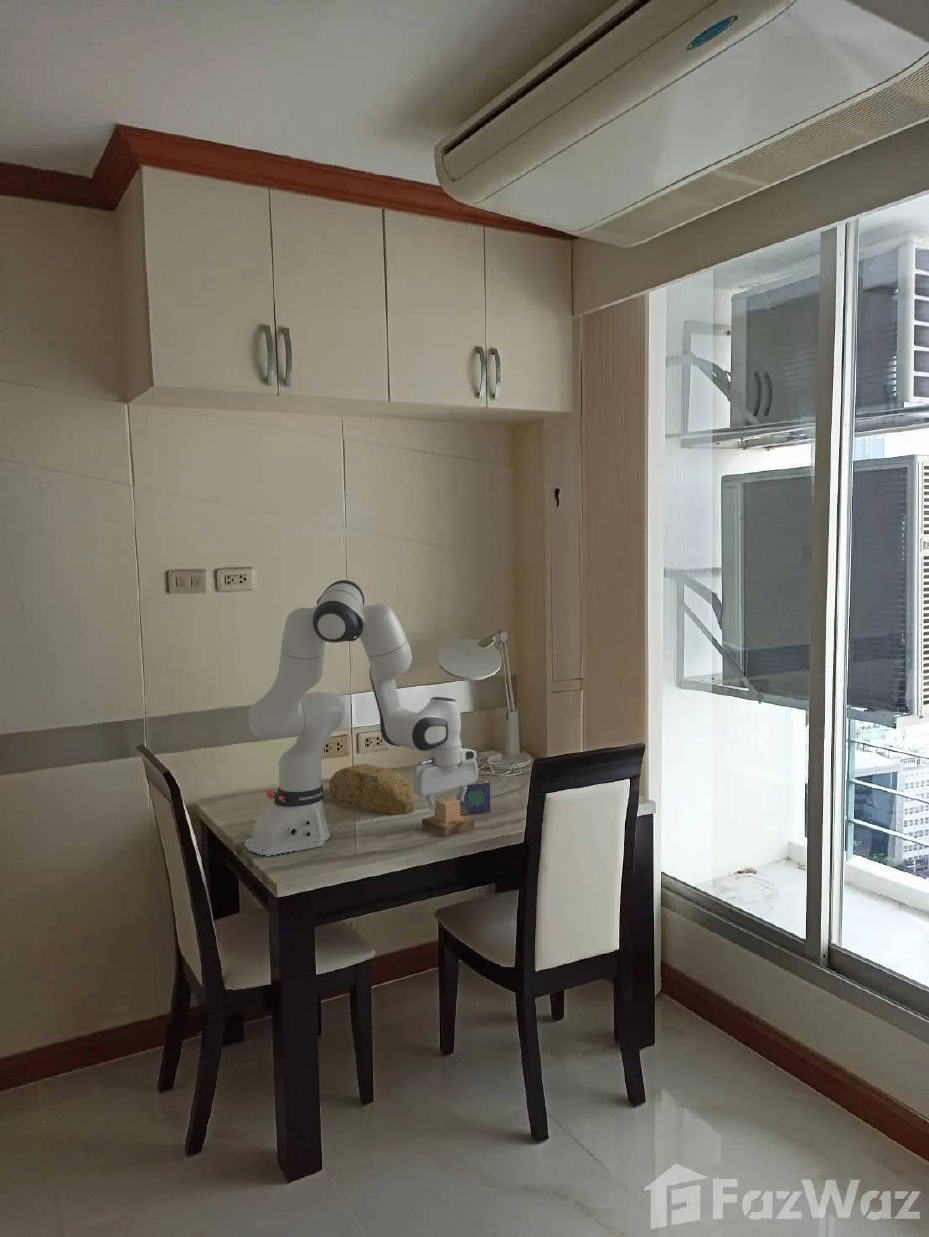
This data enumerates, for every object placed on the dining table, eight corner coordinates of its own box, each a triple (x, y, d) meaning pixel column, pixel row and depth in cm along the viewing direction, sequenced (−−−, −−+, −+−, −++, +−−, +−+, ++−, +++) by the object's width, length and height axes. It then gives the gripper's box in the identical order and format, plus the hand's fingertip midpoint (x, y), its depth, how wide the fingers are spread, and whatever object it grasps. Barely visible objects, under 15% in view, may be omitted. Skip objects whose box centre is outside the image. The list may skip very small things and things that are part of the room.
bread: (424, 809, 271) (423, 776, 270) (396, 818, 263) (394, 784, 262) (348, 787, 296) (347, 756, 295) (320, 794, 289) (319, 763, 288)
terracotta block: (446, 822, 249) (445, 804, 249) (434, 818, 253) (434, 800, 252) (460, 818, 252) (459, 800, 252) (448, 814, 256) (448, 796, 256)
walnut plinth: (445, 836, 246) (444, 827, 246) (422, 828, 254) (422, 818, 253) (473, 828, 252) (473, 818, 252) (450, 819, 260) (450, 810, 260)
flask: (461, 816, 263) (460, 779, 262) (458, 813, 266) (457, 777, 264) (491, 812, 266) (491, 776, 265) (488, 809, 268) (487, 773, 267)
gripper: (422, 764, 242) (423, 816, 243) (481, 750, 255) (482, 799, 257) (407, 760, 247) (409, 810, 248) (466, 747, 260) (467, 794, 261)
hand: (446, 805), depth 253 cm, fingers open, 8 cm apart
